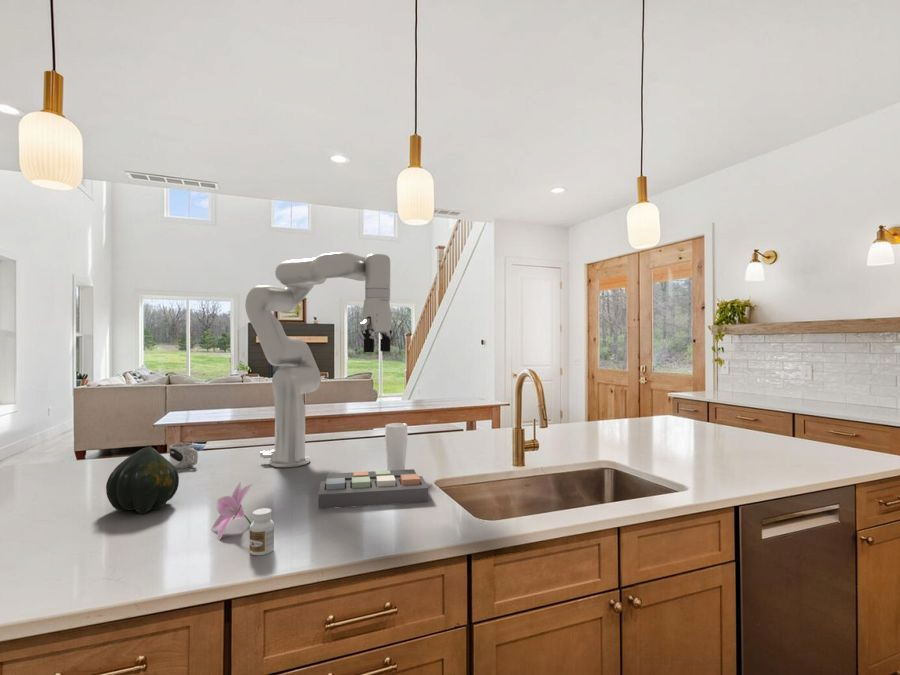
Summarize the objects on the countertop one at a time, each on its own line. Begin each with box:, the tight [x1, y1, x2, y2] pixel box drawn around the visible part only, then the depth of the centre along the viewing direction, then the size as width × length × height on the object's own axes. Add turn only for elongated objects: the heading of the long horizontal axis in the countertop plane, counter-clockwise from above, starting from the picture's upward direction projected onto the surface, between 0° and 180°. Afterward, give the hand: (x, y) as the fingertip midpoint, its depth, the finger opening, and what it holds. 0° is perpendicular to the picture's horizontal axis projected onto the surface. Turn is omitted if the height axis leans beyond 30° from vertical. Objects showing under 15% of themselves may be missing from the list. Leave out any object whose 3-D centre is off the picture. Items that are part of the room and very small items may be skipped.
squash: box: [105, 446, 180, 514], centre depth 115 cm, size 14×15×15 cm
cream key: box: [376, 475, 396, 487], centre depth 124 cm, size 5×5×2 cm
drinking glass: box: [384, 422, 409, 471], centre depth 145 cm, size 7×7×15 cm
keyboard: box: [317, 468, 429, 510], centre depth 125 cm, size 27×16×4 cm, turn 102°
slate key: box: [325, 478, 345, 490], centre depth 121 cm, size 5×5×2 cm
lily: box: [210, 481, 253, 541], centre depth 103 cm, size 12×12×10 cm
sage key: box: [352, 476, 370, 488], centre depth 123 cm, size 5×5×2 cm
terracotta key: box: [400, 473, 420, 485], centre depth 126 cm, size 5×5×2 cm
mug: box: [169, 442, 199, 470], centre depth 151 cm, size 10×7×7 cm, turn 68°
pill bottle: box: [249, 507, 275, 556], centre depth 92 cm, size 4×4×8 cm
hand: (377, 351), depth 144 cm, fingers open, 9 cm apart
